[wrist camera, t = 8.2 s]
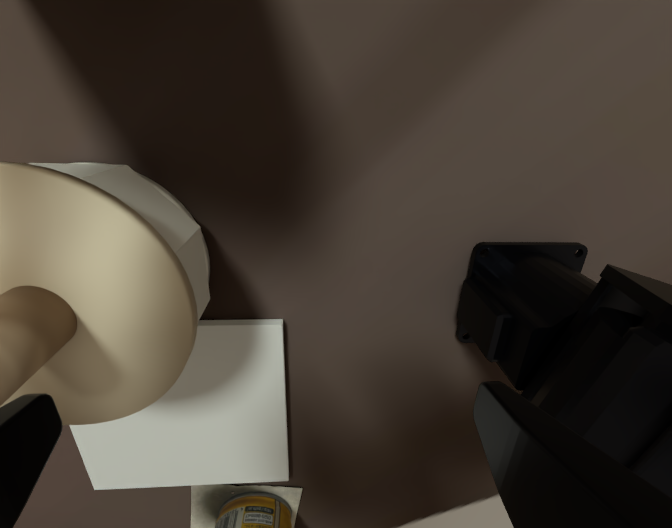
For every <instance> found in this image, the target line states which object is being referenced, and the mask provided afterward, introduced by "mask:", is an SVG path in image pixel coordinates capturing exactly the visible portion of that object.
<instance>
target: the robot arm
mask: <svg viewBox="0 0 672 528" xmlns="http://www.w3.org/2000/svg"><path fill="white" fill-rule="evenodd" d="M483 249H486V251H485V253H484V254H482V255H480V252H481V251H482V250H483ZM577 250H578V252H577V253H576V254H575V252H576V251H577ZM587 252H588V250H587V247H586V246H584V245H582V244H580V243H557V242H481V243H478V244H477V245H476V246H475V247H474V248H473V251H472V256H471V261H470V266H469V271H468V276H467V278H466V279H465V280H464V282H463V287H462V292H461V297H460V302H459V307H458V312H457V318H458V319H459V321H458V326H457V331H456V335H457V337H458V339H459V340H460V341H461V342H463V343H476V344H477V346H478V347H479V349H480V350H481V352H482V353H483V354H484V356H485V357H486V358H487V359H488V360H489V361H490V362H496V363H497V364H498V365H499V367H500V368H501V369H502V371H503V372H504V373H505V375H506V376H507V377H508V379H509V380H510V382H511V383H512V384H513V386H514V387H515V388H516V389H517V390H524V391H523V392H522V394H521V395H520V394H518V393H517V392H515V391H514V390H512V389H511V388H509V387H508V386H506V385H505V384H503V383H502V382H498V381H491V382H482V383H481V384H480V385H479V388H478V392H477V396H476V400H475V405H474V409H473V416H474V421H475V424H476V427H477V430H478V433H479V436H480V439H481V442H482V445H483V448H484V451H485V454H486V457H487V460H488V463H489V466H490V469H491V472H492V475H493V478H494V481H495V484H496V486H497V489H498V492H499V494H500V497H501V499H502V502H503V504H504V506H505V509H506V511H507V513H508V515H509V518H510V520H511V522H512V524H513V527H514V528H672V285H670V284H667V283H664V282H661V281H658V280H655V279H652V278H649V277H646V276H643V275H640V274H637V273H634V272H630V271H627V270H624V269H621V268H618V267H615V266H612V265H609V264H607V265H606V267H605V268H604V270H603V271H602V273H601V274H600V276H601V277H602V278H601V279H600V281H599V282H598V283H596V282H594V281H593V280H591V279H589V278H588V277H586V276H584V275H583V274H581V270H582V267H583V264H584V261H585V259H586V256H587ZM465 333H467V334H466V335H464V336H463V334H465ZM62 426H63V425H62V420H61V417H60V415H59V412H58V410H57V407H56V405H55V402H54V400H53V398H52V396H51V395H49V394H46V393H34V394H25V395H22V396H20V397H18V398H16V399H15V400H13V401H11V402H9V403H7V404H5V405H3V406H2V407H0V528H13V526H14V525H15V523H16V521H17V520H18V518H19V516H20V514H21V512H22V510H23V509H24V507H25V505H26V503H27V501H28V499H29V497H30V495H31V493H32V491H33V489H34V487H35V485H36V483H37V481H38V479H39V477H40V475H41V473H42V471H43V469H44V467H45V465H46V463H47V461H48V459H49V457H50V455H51V453H52V451H53V449H54V447H55V445H56V443H57V441H58V439H59V437H60V435H61V432H62Z"/></svg>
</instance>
